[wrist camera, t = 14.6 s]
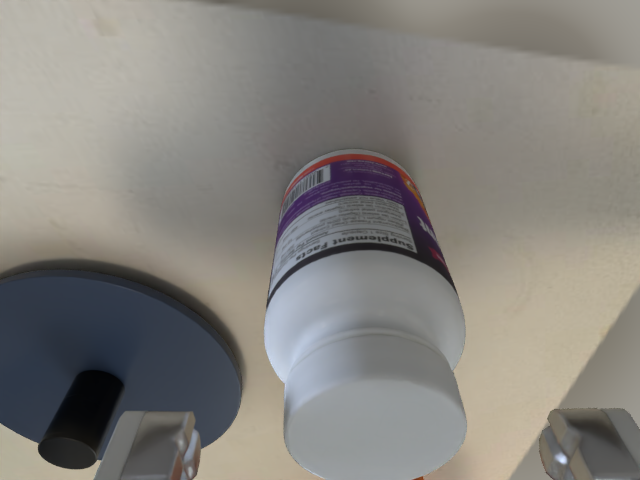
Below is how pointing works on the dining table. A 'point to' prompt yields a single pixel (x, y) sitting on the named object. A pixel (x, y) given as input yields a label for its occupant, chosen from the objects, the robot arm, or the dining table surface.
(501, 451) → the dining table surface
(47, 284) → the lid
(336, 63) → the dining table surface
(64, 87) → the dining table surface
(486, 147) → the dining table surface
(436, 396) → the pill bottle
